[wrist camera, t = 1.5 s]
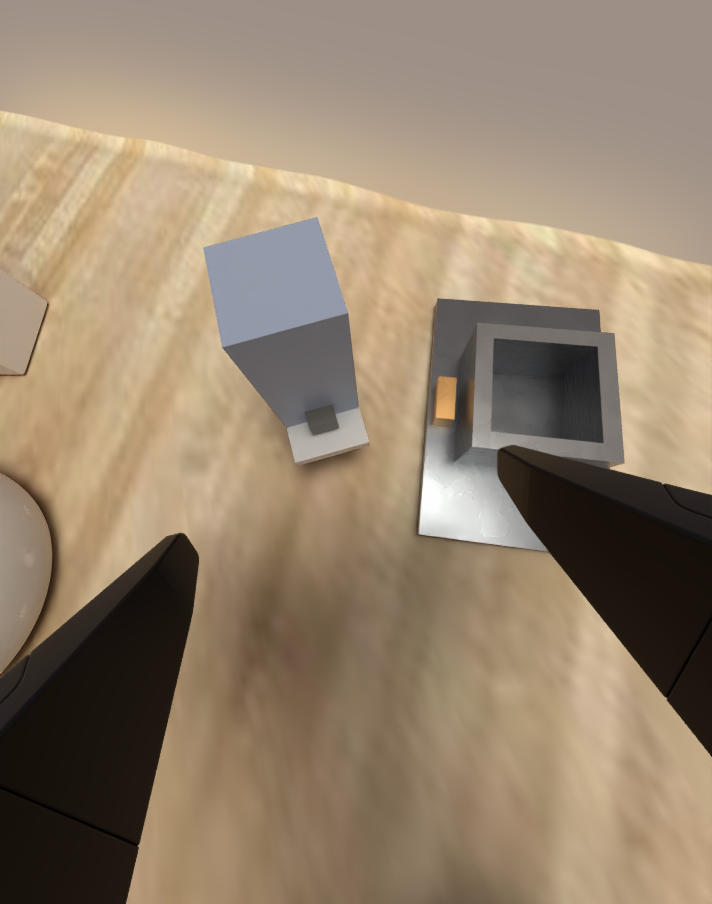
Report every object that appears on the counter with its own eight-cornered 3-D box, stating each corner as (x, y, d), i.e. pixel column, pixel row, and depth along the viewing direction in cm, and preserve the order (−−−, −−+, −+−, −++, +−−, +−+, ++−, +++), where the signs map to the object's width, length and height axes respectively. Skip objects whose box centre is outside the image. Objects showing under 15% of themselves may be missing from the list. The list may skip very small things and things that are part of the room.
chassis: (604, 559, 21) (675, 566, 16) (416, 534, 22) (429, 533, 17) (590, 318, 25) (642, 266, 20) (435, 307, 26) (449, 254, 21)
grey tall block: (369, 459, 23) (365, 368, 11) (309, 476, 23) (233, 405, 10) (338, 353, 25) (304, 175, 13) (283, 368, 25) (195, 204, 13)
